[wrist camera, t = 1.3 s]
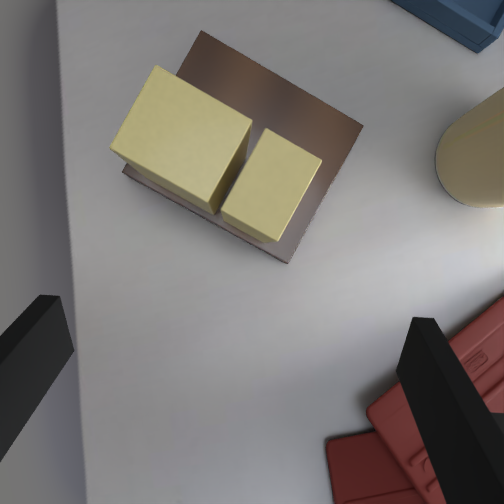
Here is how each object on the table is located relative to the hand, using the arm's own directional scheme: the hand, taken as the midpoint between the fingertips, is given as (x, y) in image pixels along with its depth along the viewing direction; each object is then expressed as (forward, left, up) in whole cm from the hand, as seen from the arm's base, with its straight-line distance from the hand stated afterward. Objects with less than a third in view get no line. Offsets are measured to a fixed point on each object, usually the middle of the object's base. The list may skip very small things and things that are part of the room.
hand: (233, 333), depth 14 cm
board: (-4, +10, -15) cm, 18 cm away
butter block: (-7, +7, -13) cm, 16 cm away
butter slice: (-1, +7, -13) cm, 15 cm away
